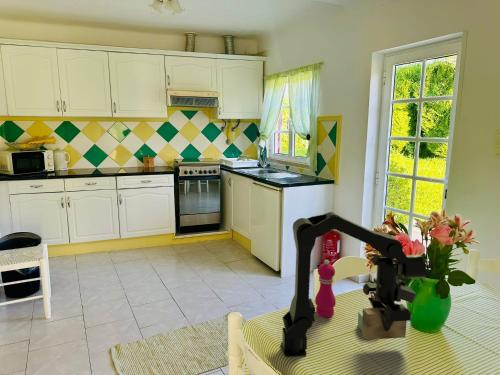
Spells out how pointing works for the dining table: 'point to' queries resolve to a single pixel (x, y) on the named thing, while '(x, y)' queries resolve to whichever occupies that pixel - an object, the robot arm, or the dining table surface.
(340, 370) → the dining table surface
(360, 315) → the letter cube
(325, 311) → the pepper mill
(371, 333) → the wooden block
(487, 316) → the dining table surface
